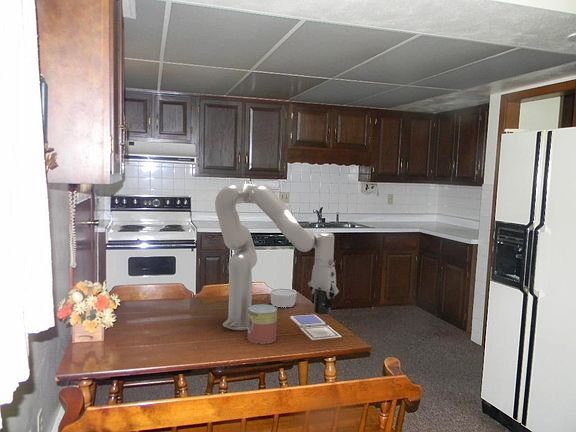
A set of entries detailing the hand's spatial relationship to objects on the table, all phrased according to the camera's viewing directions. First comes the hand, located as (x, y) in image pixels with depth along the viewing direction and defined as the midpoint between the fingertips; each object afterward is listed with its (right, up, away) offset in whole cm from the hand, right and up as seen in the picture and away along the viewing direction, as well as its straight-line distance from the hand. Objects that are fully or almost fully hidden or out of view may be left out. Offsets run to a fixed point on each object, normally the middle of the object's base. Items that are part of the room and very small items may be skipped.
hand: (322, 305), depth 177 cm
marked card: (-1, -12, +1) cm, 12 cm away
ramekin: (-17, -8, +37) cm, 41 cm away
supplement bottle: (0, -3, 0) cm, 3 cm away
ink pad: (-5, -10, +14) cm, 18 cm away
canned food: (-24, -12, -7) cm, 28 cm away
